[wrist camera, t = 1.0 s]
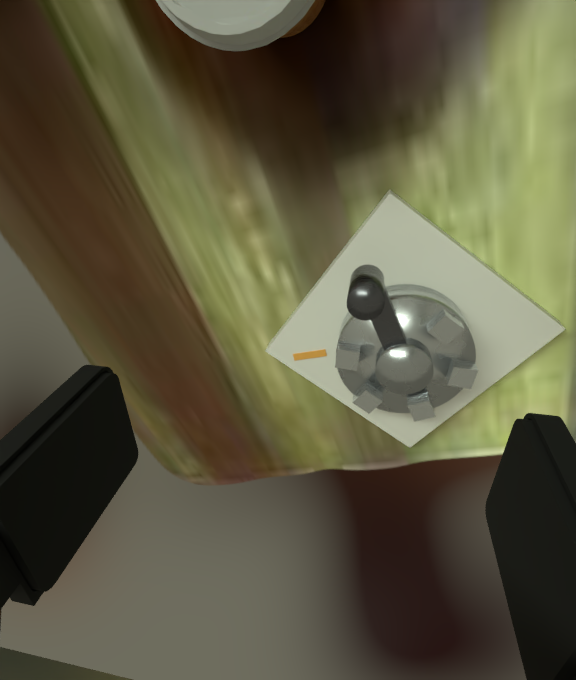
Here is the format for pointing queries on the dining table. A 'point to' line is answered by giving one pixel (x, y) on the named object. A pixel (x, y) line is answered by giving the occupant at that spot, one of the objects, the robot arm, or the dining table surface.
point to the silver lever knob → (402, 346)
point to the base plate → (425, 270)
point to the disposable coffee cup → (241, 20)
